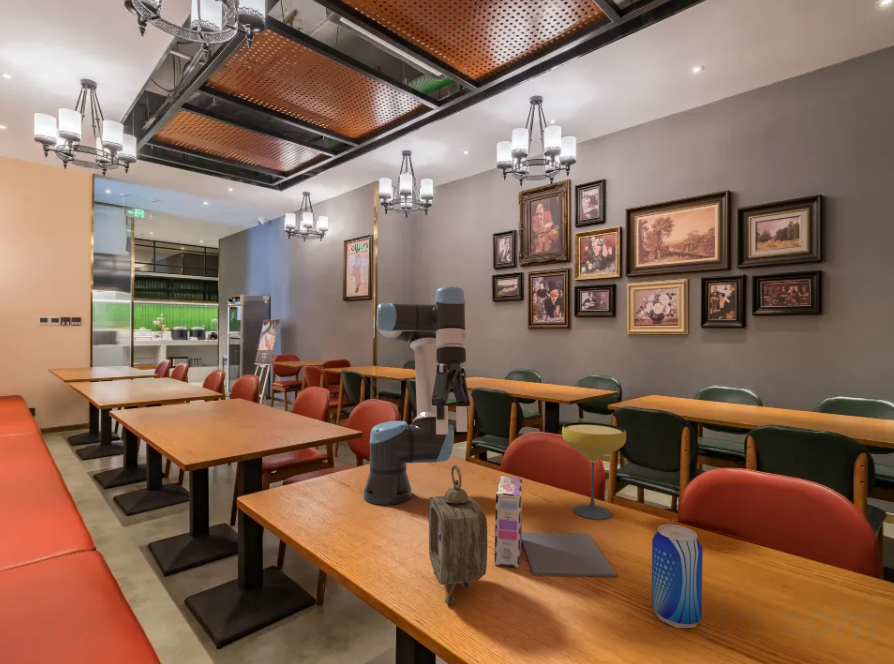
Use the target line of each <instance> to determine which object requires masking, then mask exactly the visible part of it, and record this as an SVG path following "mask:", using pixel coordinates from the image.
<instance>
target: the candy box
mask: <svg viewBox="0 0 894 664" xmlns="http://www.w3.org/2000/svg"><path fill="white" fill-rule="evenodd" d="M494 514H495V516H494V517H495V518H494V519H495V523H494V525H495V526H494V528H495V529H494V565H496V566H502V567H511V568H520V566H521V553H522V541H521V539H522V529H523V527H522V526H523V525H522V523H523V520H522V519H523V477H517V476H508V475H507V476H505V475H504V476H503V475H500V477H499V481H498V485H497V489H496V493H495V512H494Z"/></svg>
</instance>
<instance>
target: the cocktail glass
mask: <svg viewBox="0 0 894 664" xmlns="http://www.w3.org/2000/svg"><path fill="white" fill-rule="evenodd" d="M561 436H562V439H563V440H564V442H565V443H566V444H567V445H568V446H570V447H572V448H573V449H575V450H576V451H578V452H579V453H581V454H583V455H584V456H585V457H586V459H587V460H588V461H589V462H590V463H591V490H590V491H591V492H590V493H591V494H590V503H589V504H580V505H579V506H578V505H576V506H574V507H575V508H574V507H573V512H574V513H575V514H576V513H577V514H578V515H577V514H576V515H577V516H579V515H580V516H579V517H581V516H583V517H582V518H584V517H585V518H584V519H588V518H590V519H589V520H594V519H603V520H607V518H608V519H610V518H612V514H611V513H612V512H611V511H610V510H609V509H608V508H606V507H603V506H599V505H596V503H595V463H597V462H598V461H599V460H600V458H602V456H605V455H608V454H610V453H614V452H615V451H618V450H620V449H621V448H622V447H624V445H626V441H627V431H626V430H625V429H624V428H622V427H621V426H617V425H614V424H607V423H601V422H587V421H580V422H579V421H577V422H569V423H565V424H563V426H562V429H561ZM609 517H610V518H609Z"/></svg>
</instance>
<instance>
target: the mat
mask: <svg viewBox="0 0 894 664" xmlns="http://www.w3.org/2000/svg"><path fill="white" fill-rule="evenodd" d="M521 545H523V549H524V553H525V555H526V558H527V561H528V563H529V567H530V569H531V572H532V575H533V576H552V577H553V576H557V577H559V576H560V577H562V576H563V577H603V578H604V577H607V578H610V577H611V578H612V577H614V578H615V577H616V578H617V573H616V571H615V570H614V568H613V567H612V566H611V564H610V563H609V561H608V559H607V558H606V557H605V556H604V554H603V552H601V549H600V548H599V547H598V546H597V544H596V542H595V541H594V539H593V538H592V537H591V535H590V534H589V533H577V532H576V533H575V532H574V533H572V532H571V533H570V532H565V533H564V532H525V531H524V532H522V539H521Z"/></svg>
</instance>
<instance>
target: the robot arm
mask: <svg viewBox="0 0 894 664" xmlns="http://www.w3.org/2000/svg"><path fill="white" fill-rule="evenodd" d="M434 299H435V300H434V301H435V304H423V303H421V304H420V303H392V302H388V303H387V302H386V303H379V304H378V305H377V308H376V323H375V324H376V330H377V333H379V334H380V335H381V336H382V337H384V338H385V339H388V340H391V341H396V342H403V343H404V342H405V343H409V346H410V348H411V349H412V350H413V351H414V367H415V369H414V370H415V372H414V373H415V391H416V394H415V395H416V416H415V418H413V420H412V425H409V424H408V423H407V421H405V420H392V421H385V422H381V423H378V424H376V425H374V426H373V427H372V428H371V430H370V437H369V438H370V439H369V445H370V447H369V449H370V450H369V451H370V452H369V473H368V476H367V479H366V483H365V486H364V489H363V500H364V501H366V502H368V503H370V504H373V505H382V506H389V505H390V506H391V505H398V504H402V503H406V502H408V501H409V500H410V499H411V498H412V495H413V494H412V492H413V491H412V486H411V483H410V479H409V476H408V473H407V464H419V463H422V464H423V463H434V464H436V463H442V462H448V460H450V458H451V456H452V453H453V448H454V441H455V438H454V437H455V431H454V426H453V425H452V424H449V410H448V409H449V407H448V406H449V405H447V402H448V398H449V395H450V392H451V388H452V391H453V395H454V398H455V401H456V404H457V405H456V406H455V417H456V419H455V420H456V422H455V423H456V433H457V432H458V433H459V432H460V433H467V432H468V411H467V409H468V408H467V407H470V406H471V401H470V397H469V390H468V386H467V379H466V369H465V368H463V367H462V368H461V365H460V364H464V363H466V362H467V349H466V348H465V346H466V338H467V337H468V334H467V333H466V309H465V308H466V306H465V305H466V299H465V292H464V289H462V288H461V287H457V286H443V287H440V288H438V289H437V290H436V291H435V298H434Z"/></svg>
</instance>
